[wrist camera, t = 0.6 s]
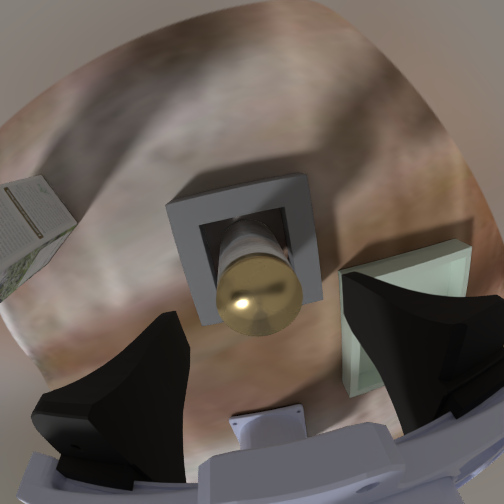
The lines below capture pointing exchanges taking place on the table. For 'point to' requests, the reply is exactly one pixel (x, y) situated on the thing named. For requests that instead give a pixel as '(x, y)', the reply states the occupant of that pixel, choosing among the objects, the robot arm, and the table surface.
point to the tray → (410, 277)
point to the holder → (237, 204)
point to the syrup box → (29, 230)
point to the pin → (255, 281)
